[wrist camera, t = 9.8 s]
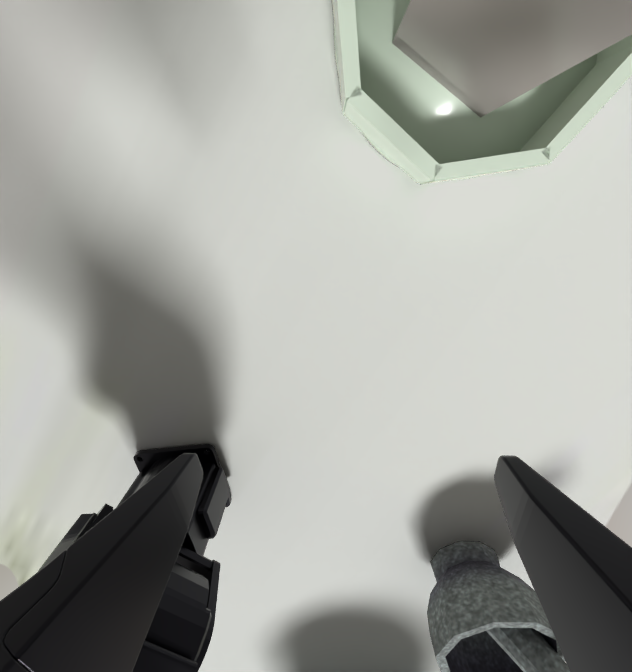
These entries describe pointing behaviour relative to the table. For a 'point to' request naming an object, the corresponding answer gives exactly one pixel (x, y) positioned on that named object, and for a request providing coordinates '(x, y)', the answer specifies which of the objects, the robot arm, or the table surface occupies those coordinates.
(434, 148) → the dish
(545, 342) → the table surface
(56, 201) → the table surface
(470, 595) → the mortar and pestle
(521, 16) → the tumbler
